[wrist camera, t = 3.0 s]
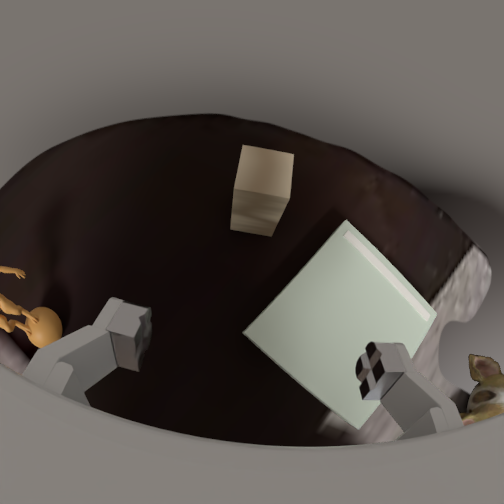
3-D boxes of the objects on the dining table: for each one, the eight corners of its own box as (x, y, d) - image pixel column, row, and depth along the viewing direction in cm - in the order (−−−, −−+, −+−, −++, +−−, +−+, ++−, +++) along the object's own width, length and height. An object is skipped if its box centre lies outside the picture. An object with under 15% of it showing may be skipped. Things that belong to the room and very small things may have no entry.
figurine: (50, 372, 21) (-31, 380, 10) (16, 335, 22) (-62, 323, 10) (86, 308, 24) (8, 283, 12) (49, 273, 24) (-26, 235, 13)
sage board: (423, 316, 27) (437, 313, 24) (347, 423, 23) (359, 430, 20) (336, 228, 29) (346, 218, 26) (242, 332, 25) (244, 332, 22)
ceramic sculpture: (527, 449, 14) (474, 445, 15) (487, 442, 22) (427, 431, 24) (551, 372, 17) (505, 344, 19) (510, 375, 26) (456, 350, 27)
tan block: (276, 200, 29) (293, 154, 21) (271, 236, 28) (289, 198, 20) (237, 193, 29) (242, 144, 21) (230, 229, 27) (233, 188, 20)
